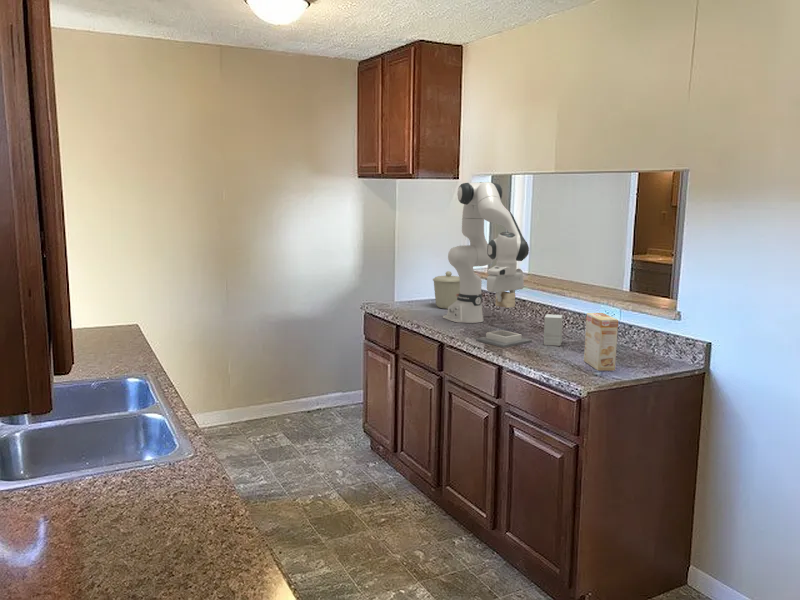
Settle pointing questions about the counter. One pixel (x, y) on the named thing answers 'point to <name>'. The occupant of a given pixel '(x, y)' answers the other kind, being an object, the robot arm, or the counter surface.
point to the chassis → (503, 338)
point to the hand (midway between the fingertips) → (505, 300)
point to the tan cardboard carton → (506, 300)
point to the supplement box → (553, 329)
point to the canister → (446, 290)
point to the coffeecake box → (601, 341)
